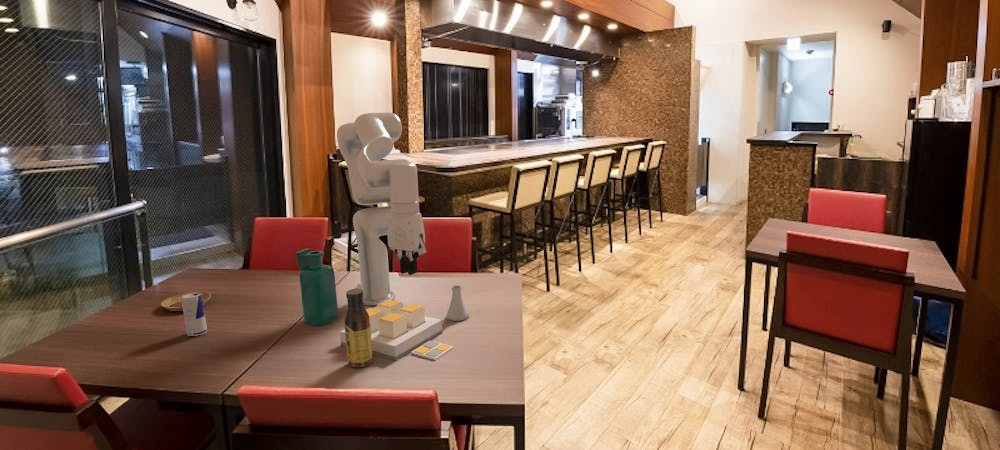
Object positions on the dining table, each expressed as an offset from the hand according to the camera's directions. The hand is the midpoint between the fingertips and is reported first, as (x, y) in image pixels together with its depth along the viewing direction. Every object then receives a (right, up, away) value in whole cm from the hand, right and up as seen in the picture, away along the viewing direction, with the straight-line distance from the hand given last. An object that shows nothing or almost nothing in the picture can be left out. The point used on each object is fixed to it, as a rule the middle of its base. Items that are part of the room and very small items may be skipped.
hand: (409, 272), depth 153 cm
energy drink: (-64, -19, +9) cm, 68 cm away
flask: (+12, -16, +18) cm, 27 cm away
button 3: (-4, -17, -3) cm, 17 cm away
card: (+7, -21, -6) cm, 23 cm away
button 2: (-7, -14, +7) cm, 17 cm away
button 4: (0, -15, +3) cm, 15 cm away
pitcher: (-31, -17, +18) cm, 39 cm away
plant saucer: (-80, -15, +33) cm, 88 cm away
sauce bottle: (-11, -23, -12) cm, 28 cm away
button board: (-5, -19, +3) cm, 20 cm away
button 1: (-11, -16, +1) cm, 19 cm away
